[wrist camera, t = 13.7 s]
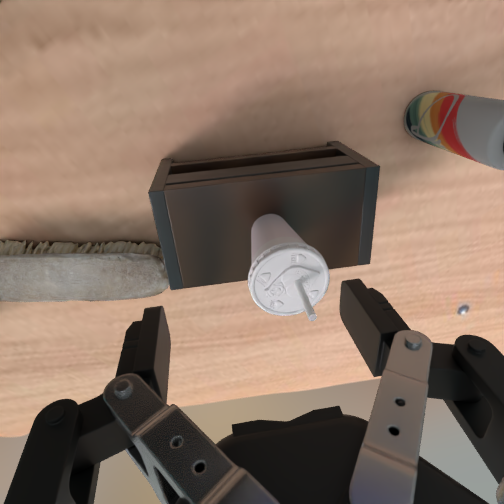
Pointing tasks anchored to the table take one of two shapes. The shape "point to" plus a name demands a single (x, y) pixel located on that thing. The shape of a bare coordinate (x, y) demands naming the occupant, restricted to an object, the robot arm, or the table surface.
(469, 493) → the robot arm
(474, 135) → the lotion bottle
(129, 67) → the table surface
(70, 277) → the shoe brush
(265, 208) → the box
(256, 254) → the smoothie
